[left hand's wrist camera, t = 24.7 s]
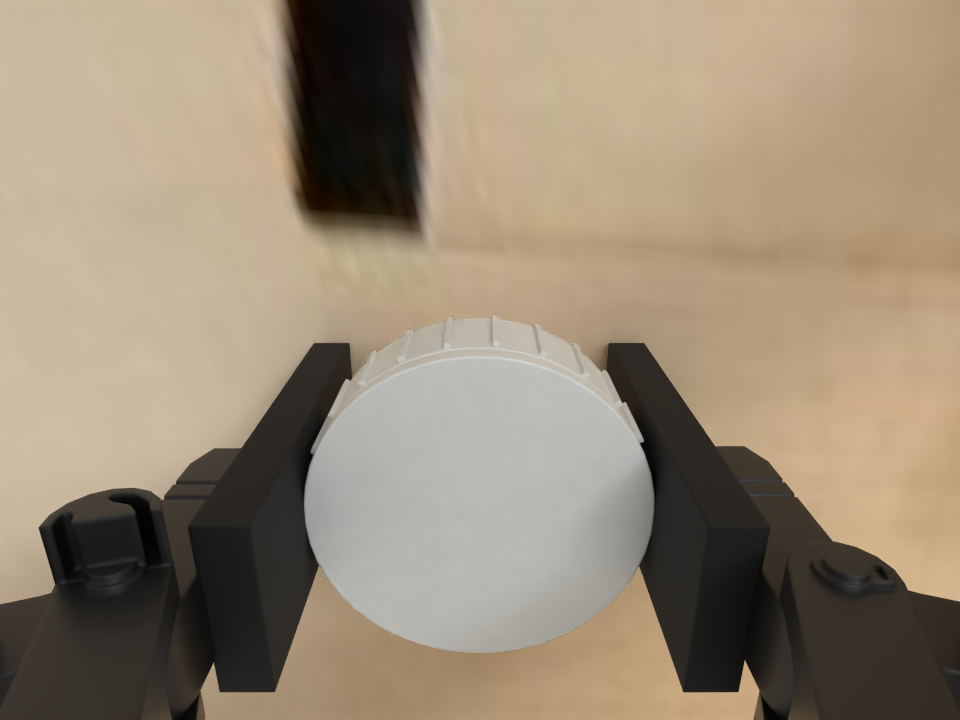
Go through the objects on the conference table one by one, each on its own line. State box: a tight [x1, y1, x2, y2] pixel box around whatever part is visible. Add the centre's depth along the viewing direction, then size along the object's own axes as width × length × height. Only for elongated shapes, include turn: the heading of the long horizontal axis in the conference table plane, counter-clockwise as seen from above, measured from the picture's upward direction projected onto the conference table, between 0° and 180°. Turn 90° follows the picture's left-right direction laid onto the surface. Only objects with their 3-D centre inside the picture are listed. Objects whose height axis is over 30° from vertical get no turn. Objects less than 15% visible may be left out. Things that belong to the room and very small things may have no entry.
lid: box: [304, 315, 655, 653], centre depth 11 cm, size 6×6×2 cm
